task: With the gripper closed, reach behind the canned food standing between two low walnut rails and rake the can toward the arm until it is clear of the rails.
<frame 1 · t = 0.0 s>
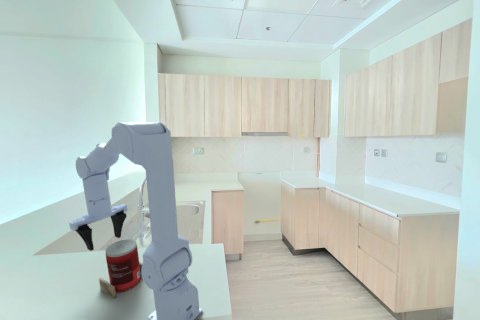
hand: (104, 242, 65), 10 cm above the worktop, tool pointing down, fingers open, 7 cm apart
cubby: (125, 281, 63), on the worktop
canned food: (126, 283, 63), on the worktop
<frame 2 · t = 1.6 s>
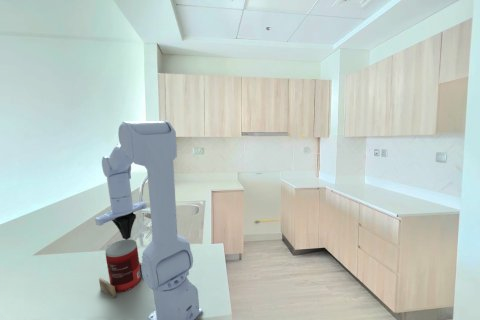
hand: (126, 238, 69), 9 cm above the worktop, tool pointing down, fingers closed
nothing on the worktop moved.
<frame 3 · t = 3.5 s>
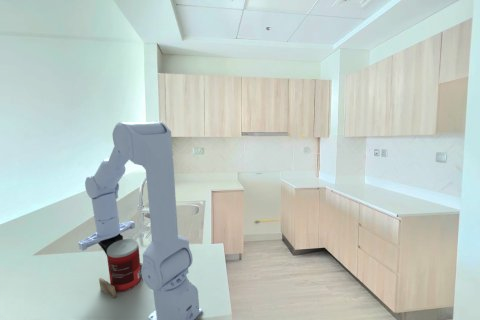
hand: (112, 260, 65), 5 cm above the worktop, tool pointing down, fingers closed, pressing on canned food
canned food: (126, 282, 63), on the worktop, touching gripper
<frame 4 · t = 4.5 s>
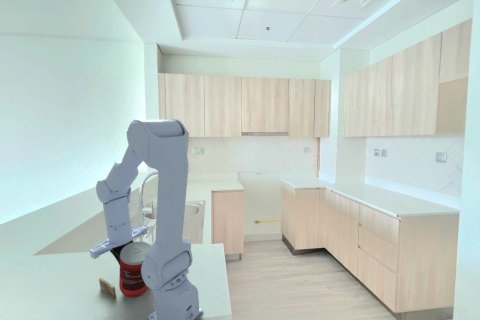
hand: (125, 268, 62), 4 cm above the worktop, tool pointing down, fingers closed, pressing on canned food
canned food: (135, 285, 60), point 1 cm above the worktop, touching gripper
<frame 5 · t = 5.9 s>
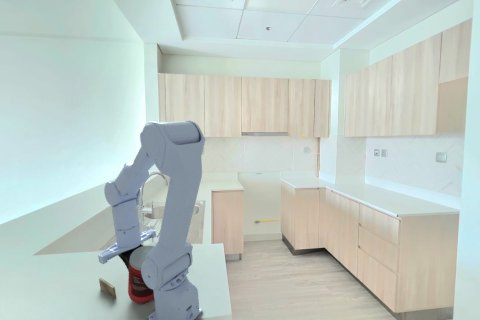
hand: (133, 273, 60), 4 cm above the worktop, tool pointing down, fingers closed, pressing on canned food
canned food: (144, 291, 58), point 1 cm above the worktop, touching gripper
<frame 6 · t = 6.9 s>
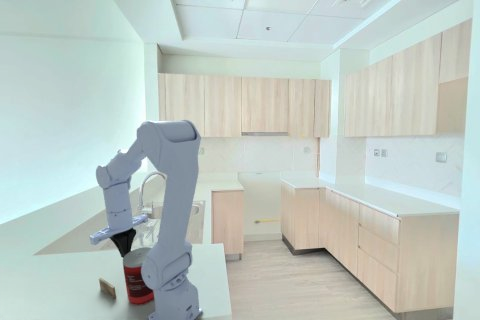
hand: (125, 256, 60), 8 cm above the worktop, tool pointing down, fingers closed
canned food: (144, 294, 58), on the worktop
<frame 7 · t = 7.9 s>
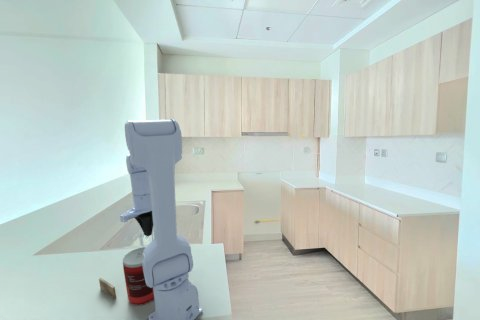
hand: (148, 234, 70), 9 cm above the worktop, tool pointing down, fingers closed
nothing on the worktop moved.
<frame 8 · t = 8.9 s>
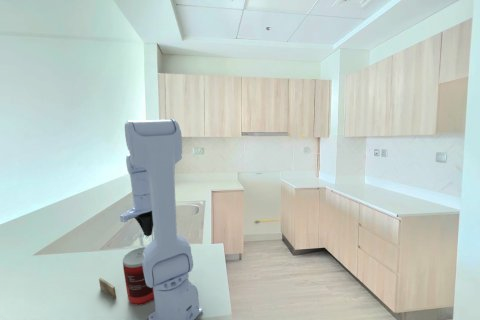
hand: (148, 234, 70), 9 cm above the worktop, tool pointing down, fingers closed
nothing on the worktop moved.
at the end: canned food inside the target area (1.9 cm from its centre), on the worktop; canned food tilted 0° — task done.
